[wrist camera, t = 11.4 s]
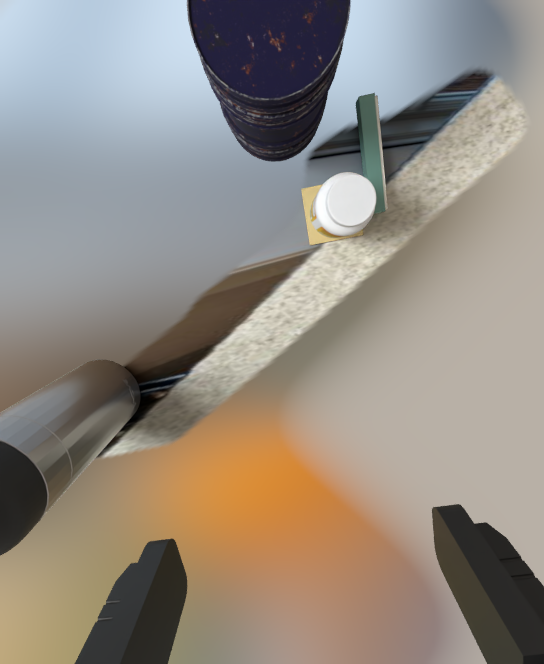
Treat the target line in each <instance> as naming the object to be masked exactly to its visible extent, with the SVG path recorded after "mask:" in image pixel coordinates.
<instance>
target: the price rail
mask: <svg viewBox="0 0 544 664" xmlns="http://www.w3.org/2000/svg"><path fill="white" fill-rule="evenodd" d="M356 111H357V120H358V130H359V139H360V149H361V158H362V167H363V177H365V178H367V179H368V180H369V181H370V182H371V183H372V185H373V186H374V189H375V192H376V205H375V211H374V214H376V213H381V212H384V211H385V209H388V206H387V195H386V184H385V174H384V163H383V152H382V141H381V130H380V119H379V108H378V98H377V96H375V94H374V93H373V94H368V95H364V96H360V97H359V98H358V100H357V102H356Z"/></svg>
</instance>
